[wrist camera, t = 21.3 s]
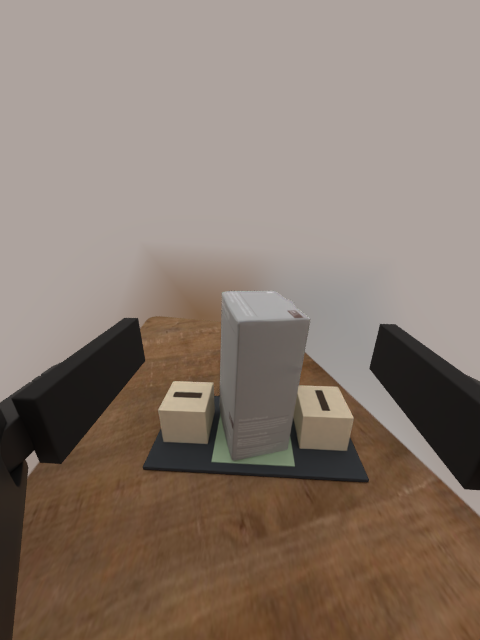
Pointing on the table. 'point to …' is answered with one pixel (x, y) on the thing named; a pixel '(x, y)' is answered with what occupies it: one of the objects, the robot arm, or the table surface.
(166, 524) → the table surface
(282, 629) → the table surface
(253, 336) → the cosmetic box
